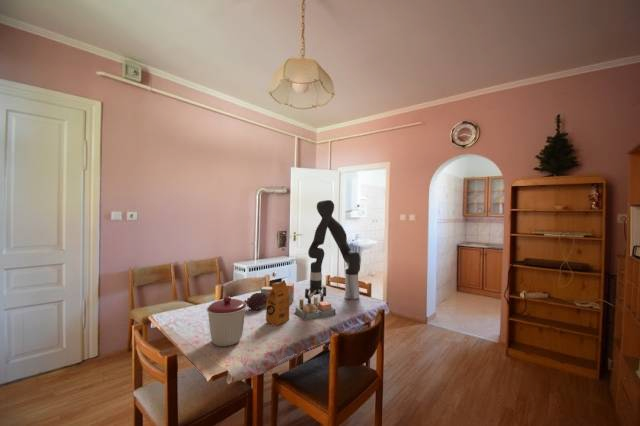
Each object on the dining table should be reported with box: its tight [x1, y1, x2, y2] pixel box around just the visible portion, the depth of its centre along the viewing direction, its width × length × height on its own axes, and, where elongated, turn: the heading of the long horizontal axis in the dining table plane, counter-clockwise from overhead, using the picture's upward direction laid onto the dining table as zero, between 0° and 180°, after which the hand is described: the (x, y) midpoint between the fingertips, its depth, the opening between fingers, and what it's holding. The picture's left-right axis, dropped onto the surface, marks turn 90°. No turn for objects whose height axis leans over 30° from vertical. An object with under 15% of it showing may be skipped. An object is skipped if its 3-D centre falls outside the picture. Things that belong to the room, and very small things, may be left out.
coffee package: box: [265, 279, 290, 326], centre depth 153 cm, size 10×12×22 cm
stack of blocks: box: [260, 282, 295, 305], centre depth 186 cm, size 21×6×12 cm, turn 87°
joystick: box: [313, 296, 332, 311], centre depth 171 cm, size 6×16×6 cm, turn 28°
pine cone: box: [243, 292, 268, 311], centre depth 172 cm, size 18×10×10 cm, turn 132°
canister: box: [205, 295, 248, 347], centre depth 129 cm, size 18×18×21 cm
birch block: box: [298, 298, 318, 314], centre depth 167 cm, size 6×16×6 cm, turn 28°
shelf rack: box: [295, 306, 336, 321], centre depth 167 cm, size 20×14×3 cm
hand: (315, 303), depth 177 cm, fingers open, 8 cm apart
